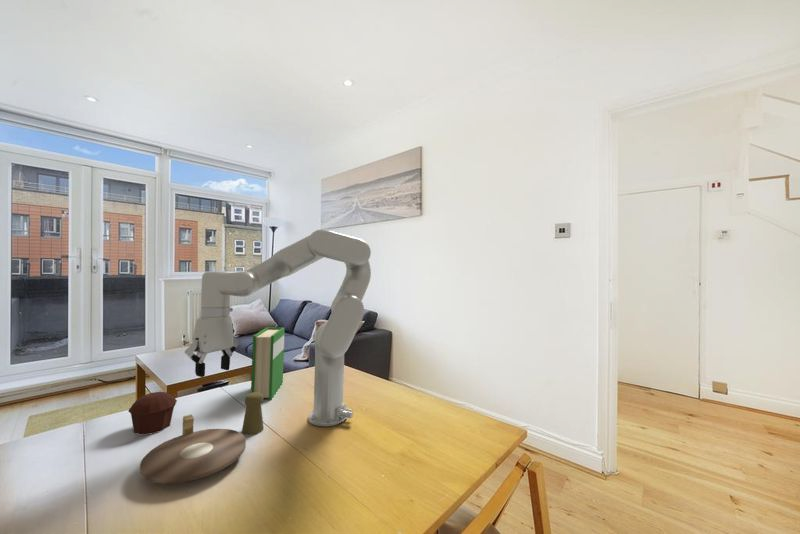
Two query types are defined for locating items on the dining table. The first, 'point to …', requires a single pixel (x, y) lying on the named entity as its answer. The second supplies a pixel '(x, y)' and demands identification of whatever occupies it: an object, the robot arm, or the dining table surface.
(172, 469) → the turntable
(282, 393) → the dining table surface
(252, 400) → the cork
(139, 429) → the muffin
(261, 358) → the hardback book
